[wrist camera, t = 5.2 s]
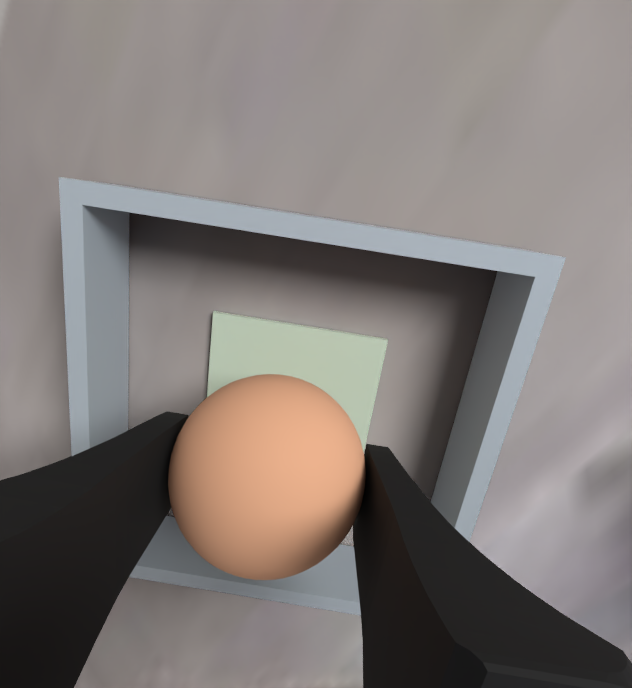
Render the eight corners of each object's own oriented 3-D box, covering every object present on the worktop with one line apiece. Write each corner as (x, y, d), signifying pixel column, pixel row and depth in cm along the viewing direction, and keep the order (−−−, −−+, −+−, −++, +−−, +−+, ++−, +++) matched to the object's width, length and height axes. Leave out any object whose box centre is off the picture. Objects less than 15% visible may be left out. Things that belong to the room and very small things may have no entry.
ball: (377, 368, 12) (404, 467, 8) (340, 501, 14) (342, 652, 9) (215, 332, 12) (138, 410, 7) (195, 471, 14) (121, 608, 9)
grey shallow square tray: (523, 249, 13) (565, 257, 10) (425, 570, 17) (439, 628, 15) (110, 183, 13) (58, 177, 10) (113, 518, 17) (76, 568, 15)
